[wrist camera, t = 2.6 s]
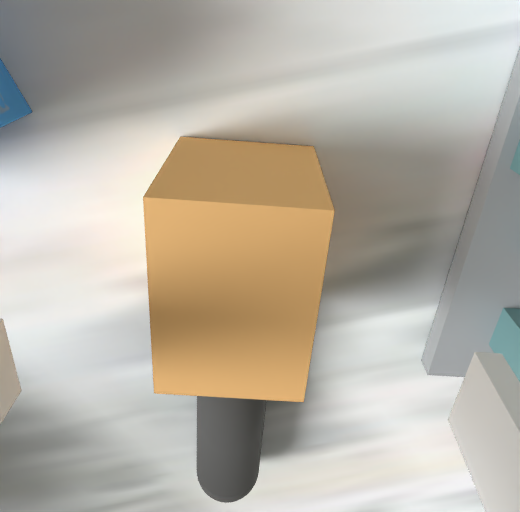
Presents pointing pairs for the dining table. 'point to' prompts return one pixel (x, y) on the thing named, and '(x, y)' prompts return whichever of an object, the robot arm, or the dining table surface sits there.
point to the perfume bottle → (10, 99)
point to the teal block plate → (485, 260)
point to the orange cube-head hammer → (235, 290)
